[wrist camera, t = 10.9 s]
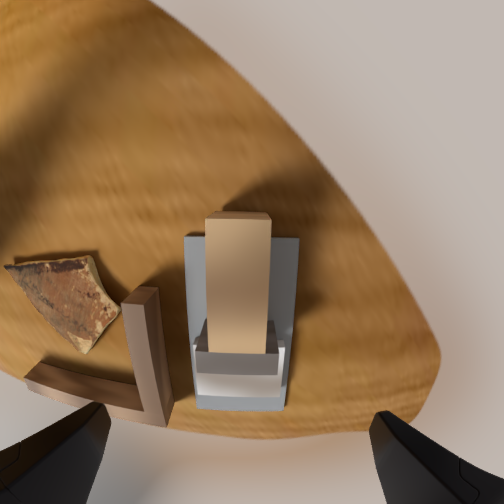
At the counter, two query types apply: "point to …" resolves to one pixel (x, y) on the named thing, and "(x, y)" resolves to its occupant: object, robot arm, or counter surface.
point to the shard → (68, 297)
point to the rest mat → (278, 311)
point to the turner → (238, 310)
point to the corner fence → (143, 361)
